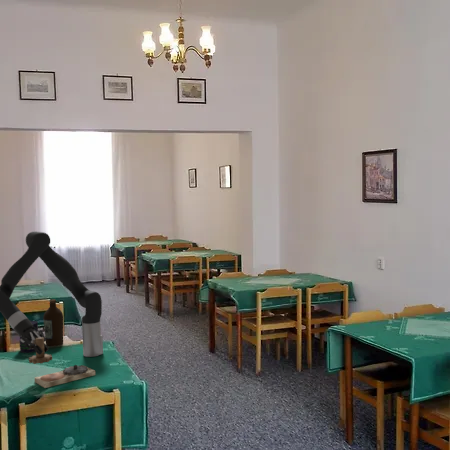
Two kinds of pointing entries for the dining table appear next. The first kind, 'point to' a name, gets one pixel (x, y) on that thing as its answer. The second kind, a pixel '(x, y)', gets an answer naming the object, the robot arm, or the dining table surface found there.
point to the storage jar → (24, 348)
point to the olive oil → (53, 325)
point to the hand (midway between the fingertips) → (44, 351)
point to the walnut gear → (42, 356)
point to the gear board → (64, 376)
